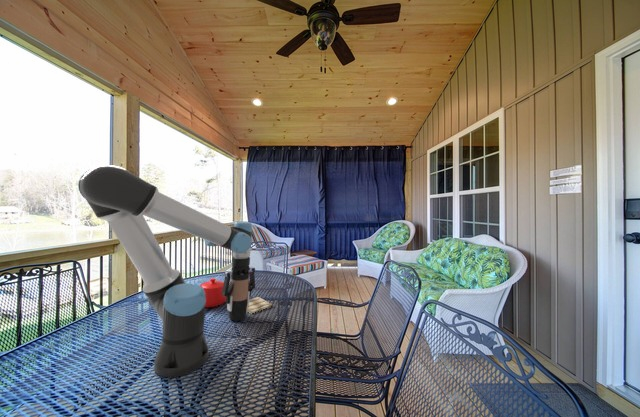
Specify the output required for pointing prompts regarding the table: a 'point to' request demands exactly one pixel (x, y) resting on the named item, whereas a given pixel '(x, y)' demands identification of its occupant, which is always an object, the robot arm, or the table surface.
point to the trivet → (257, 305)
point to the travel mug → (239, 296)
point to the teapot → (213, 293)
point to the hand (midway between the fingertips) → (238, 307)
